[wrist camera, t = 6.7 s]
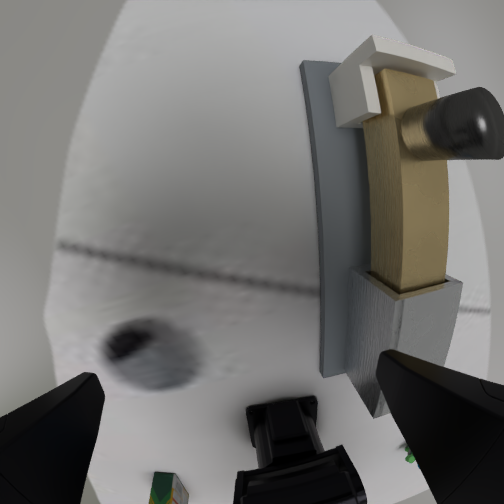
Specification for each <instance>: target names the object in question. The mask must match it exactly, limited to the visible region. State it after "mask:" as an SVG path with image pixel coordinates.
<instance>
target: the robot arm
mask: <svg viewBox="0 0 504 504" xmlns="http://www.w3.org/2000/svg"><path fill="white" fill-rule="evenodd" d="M376 378H377V381H378V383H379V386H380V388H381V391H382V393H383V395H384V398H385V400H386V403H387V405H388V408H389V410H390V412H391V414H392V416H393V418H394V420H395V422H396V424H397V426H398V428H399V429H400V431H401V433H402V435H403V437H404V439H405V441H406V442H407V444H408V446H409V448H410V450H411V452H412V454H413V456H414V458H415V460H416V462H417V464H418V466H419V468H420V470H421V472H422V474H423V476H424V478H425V480H426V482H427V484H428V486H429V488H430V490H431V492H432V494H433V496H434V498H435V500H436V502H437V504H504V385H501V384H497V383H493V382H490V381H486V380H483V379H479V378H477V377H473V376H470V375H467V374H464V373H461V372H458V371H455V370H452V369H449V368H446V367H443V366H440V365H437V364H434V363H431V362H428V361H425V360H422V359H419V358H416V357H414V356H411V355H408V354H405V353H402V352H400V351H397V350H394V349H389V350H385V351H382V352H381V353H380V354H379V358H378V363H377V368H376ZM104 401H105V394H104V391H103V388H102V386H101V384H100V381H99V379H98V377H97V375H96V374H95V373H90V372H83V373H82V374H80V375H78V376H76V377H74V378H73V379H71V380H69V381H67V382H65V383H64V384H62V385H60V386H58V387H56V388H54V389H53V390H51V391H49V392H48V393H45V394H43V395H42V396H40V397H38V398H36V399H34V400H32V401H31V402H29V403H27V404H25V405H23V406H21V407H19V408H17V409H16V410H14V411H12V412H10V413H8V415H7V414H6V415H4V416H2V417H0V504H80V502H81V498H82V494H83V489H84V485H85V481H86V477H87V473H88V469H89V465H90V461H91V457H92V454H93V450H94V447H95V443H96V440H97V436H98V431H99V426H100V421H101V415H102V410H103V405H104ZM311 401H312V402H311ZM317 405H318V401H317V398H316V397H315V396H311V397H306V398H301V399H296V400H290V401H284V402H278V403H272V404H265V405H258V406H250V407H248V408H247V409H246V416H247V421H248V426H249V431H250V436H251V441H252V446H253V447H254V448H256V452H257V460H258V467H259V469H255V470H249V471H238V472H237V479H236V481H235V491H234V501H233V504H367V497H366V493H365V489H364V486H363V484H362V481H361V479H360V476H359V474H358V472H357V470H356V469H355V467H354V465H353V463H352V461H351V460H350V458H349V456H348V454H347V452H346V450H345V449H344V447H343V445H339V446H336V448H334V449H331V450H328V451H324V449H323V446H322V443H321V440H320V438H319V435H318V432H317V429H316V420H317ZM250 411H252V412H250Z"/></svg>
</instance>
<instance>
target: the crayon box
mask: <svg viewBox="0 0 504 504" xmlns="http://www.w3.org/2000/svg"><path fill="white" fill-rule="evenodd" d="M188 498H189V494H188V493H187V492H186V490H185V489H184V487H183V486H182V484H181V482H180V481H179V479H178V478H177V476H176V474H174V473H160V472H154V477H153V482H152V488H151V493H150V499H149V504H188Z"/></svg>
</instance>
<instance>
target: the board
mask: <svg viewBox="0 0 504 504" xmlns="http://www.w3.org/2000/svg"><path fill="white" fill-rule="evenodd" d="M340 64H341V63H335V62H323V61H307V60H303V61H302V63H301V65H300V71H301V77H302V83H303V89H304V95H305V102H306V109H307V116H308V124H309V132H310V140H311V149H312V158H313V168H314V178H315V190H316V202H317V217H318V233H319V254H320V287H321V346H320V373H321V375H322V377H323V378H326V377H331V376H335V375H339V374H343V373H346V372H345V371H344V359H345V347H346V332H347V313H348V267H351V266H357V265H363V264H370V263H371V209H370V190H369V176H368V164H367V154H366V145H365V137H364V129H363V128H342V127H336V120H335V113H334V106H333V100H332V94H331V88H330V83H329V77H328V76H329V75H330V74H331V73H332V72H333V71H334V70H335V69H336V68H337V67H338V66H339V65H340Z"/></svg>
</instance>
